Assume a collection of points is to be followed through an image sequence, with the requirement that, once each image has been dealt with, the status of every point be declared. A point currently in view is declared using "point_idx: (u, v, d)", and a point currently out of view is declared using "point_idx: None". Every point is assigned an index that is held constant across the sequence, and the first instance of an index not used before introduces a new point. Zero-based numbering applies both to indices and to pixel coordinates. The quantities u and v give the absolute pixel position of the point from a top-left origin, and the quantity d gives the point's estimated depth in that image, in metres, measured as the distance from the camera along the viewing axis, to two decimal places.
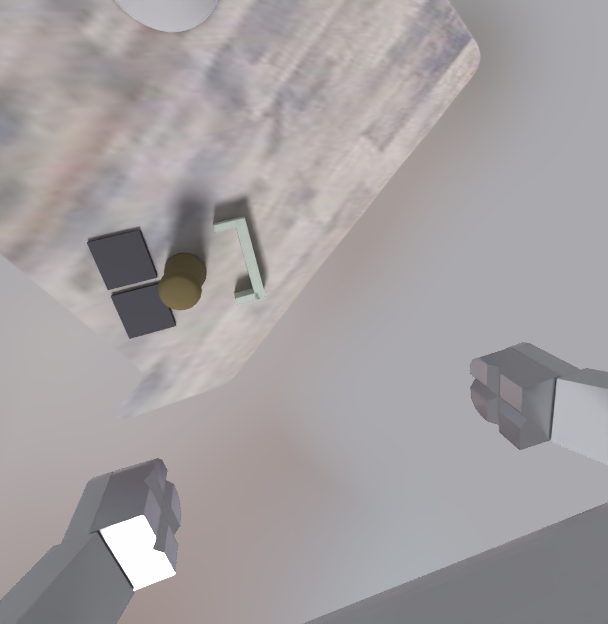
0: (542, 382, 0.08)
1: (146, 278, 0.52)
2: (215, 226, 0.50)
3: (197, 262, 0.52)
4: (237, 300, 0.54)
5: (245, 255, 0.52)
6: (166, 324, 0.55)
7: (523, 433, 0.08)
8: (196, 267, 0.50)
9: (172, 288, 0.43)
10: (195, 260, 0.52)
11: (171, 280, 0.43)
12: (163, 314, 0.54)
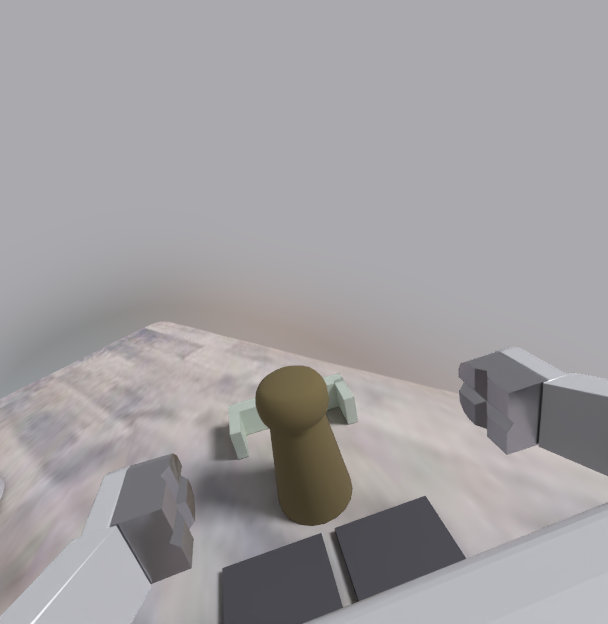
0: (528, 387, 0.08)
1: (322, 553, 0.24)
2: (231, 432, 0.33)
3: None
4: (346, 397, 0.34)
5: None
6: (425, 512, 0.25)
7: (510, 438, 0.08)
8: None
9: (276, 385, 0.24)
10: None
11: (264, 390, 0.24)
12: (403, 519, 0.25)
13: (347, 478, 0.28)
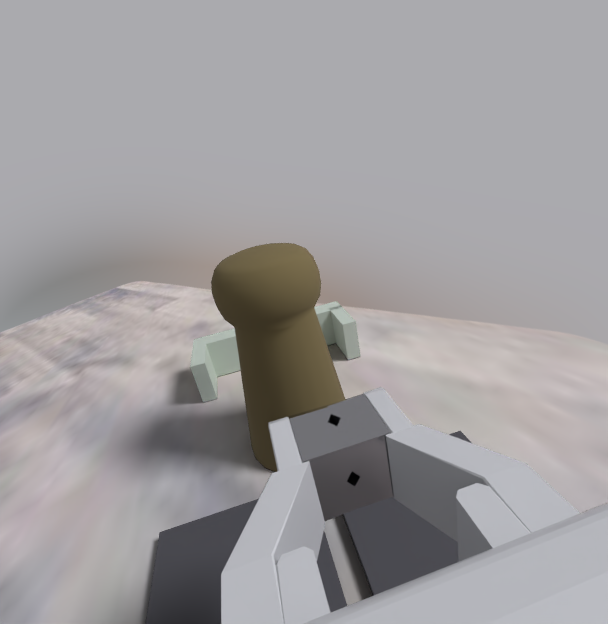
0: (369, 440, 0.07)
1: None
2: (193, 364, 0.25)
3: None
4: (346, 322, 0.26)
5: None
6: None
7: (360, 492, 0.08)
8: None
9: (241, 256, 0.16)
10: None
11: (223, 264, 0.16)
12: None
13: None
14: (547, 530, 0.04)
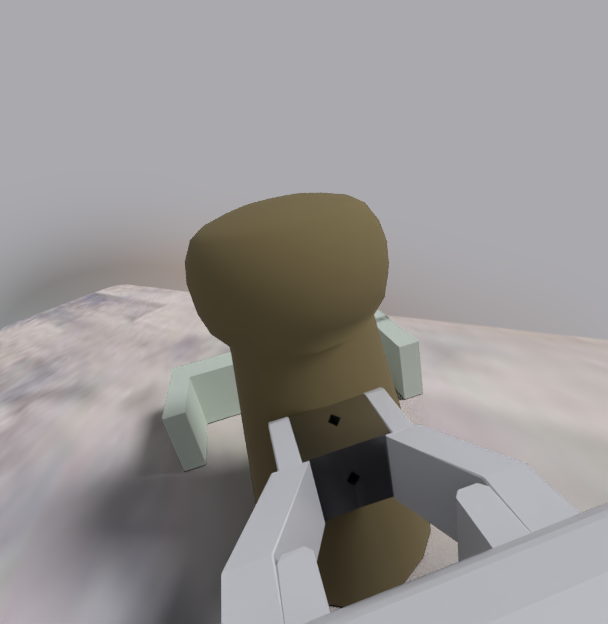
0: (370, 440, 0.07)
1: None
2: (166, 414, 0.15)
3: None
4: (403, 342, 0.17)
5: None
6: None
7: (360, 492, 0.08)
8: None
9: (242, 211, 0.08)
10: None
11: (206, 227, 0.08)
12: None
13: None
14: (547, 530, 0.04)
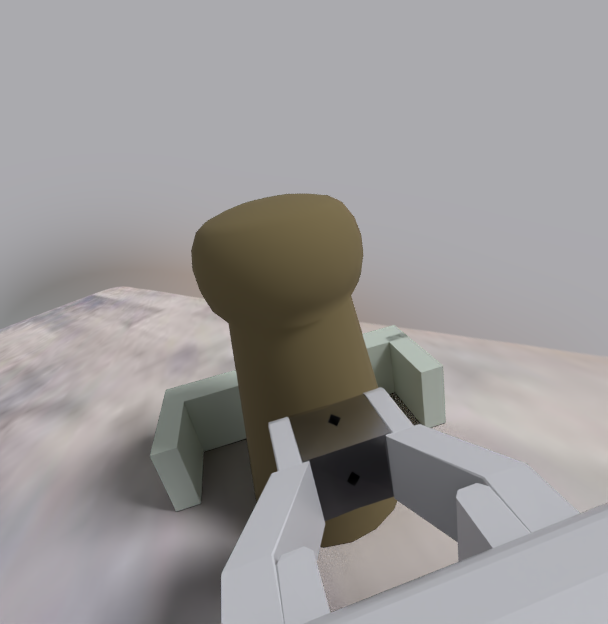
0: (369, 440, 0.07)
1: None
2: (155, 449, 0.14)
3: None
4: (426, 367, 0.15)
5: None
6: None
7: (360, 492, 0.08)
8: None
9: (239, 208, 0.10)
10: None
11: (209, 222, 0.10)
12: None
13: None
14: (547, 530, 0.04)
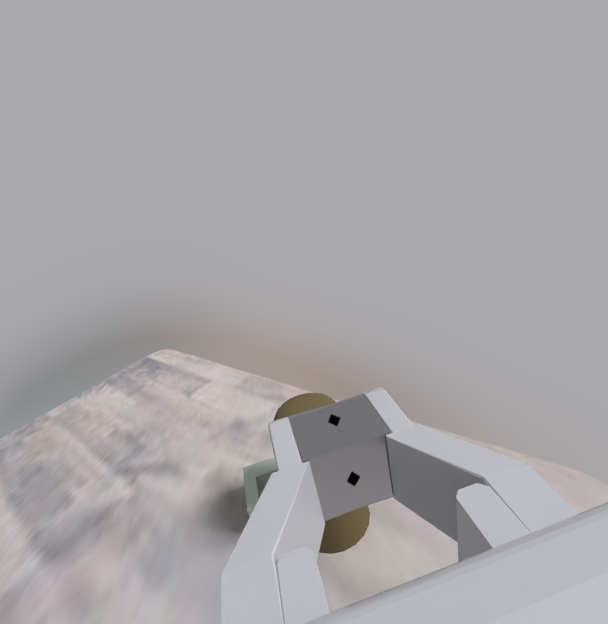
0: (369, 440, 0.07)
1: None
2: (248, 506, 0.28)
3: None
4: None
5: None
6: None
7: (360, 491, 0.08)
8: None
9: None
10: None
11: None
12: None
13: None
14: (547, 530, 0.04)
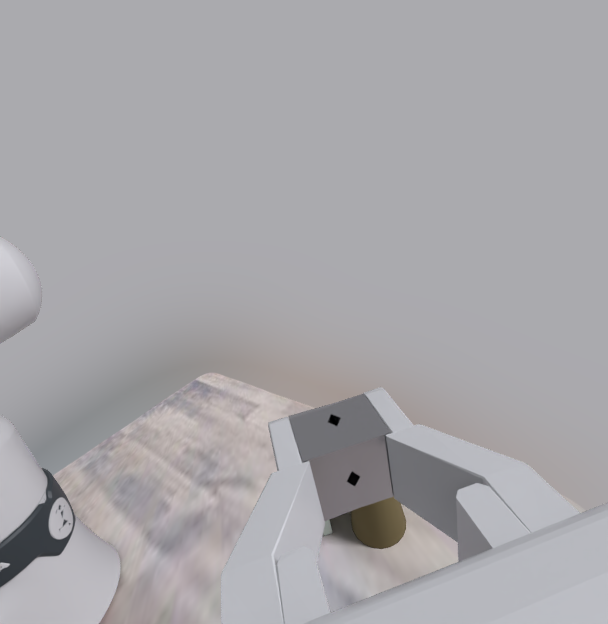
0: (369, 440, 0.07)
1: None
2: None
3: None
4: None
5: None
6: None
7: (360, 491, 0.08)
8: None
9: None
10: None
11: None
12: None
13: (403, 513, 0.39)
14: (547, 530, 0.04)
